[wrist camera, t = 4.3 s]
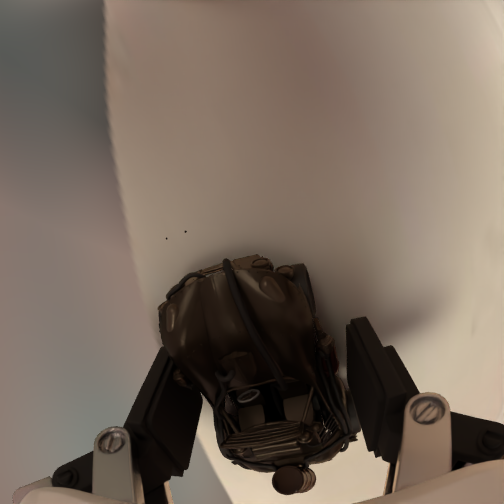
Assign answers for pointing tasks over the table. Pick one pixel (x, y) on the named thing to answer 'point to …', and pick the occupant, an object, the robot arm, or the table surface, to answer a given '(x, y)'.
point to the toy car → (261, 367)
